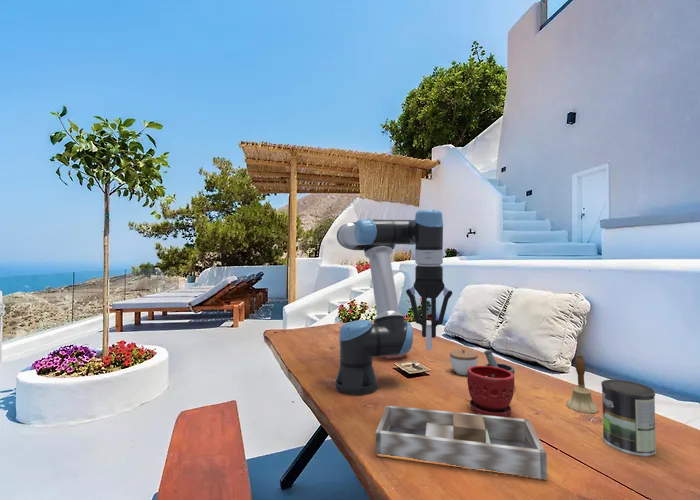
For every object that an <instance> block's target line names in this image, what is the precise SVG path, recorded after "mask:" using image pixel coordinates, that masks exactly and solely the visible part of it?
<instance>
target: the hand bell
mask: <svg viewBox="0 0 700 500" xmlns="http://www.w3.org/2000/svg"><path fill="white" fill-rule="evenodd" d="M574 362H575V365H574V367H575V371H576V373H577V386H575V387H573V388H572V393H571V398H570V399H569V400H568V401H566V403H565V404H566V405H565V406H566V407H568V408H569V409H570V410H572V411H575V412H578V413H584V414H597V413H599V412H600V411H599V407H598V406H597V405H596V404H595V403H594V401H593V398H592V393H591V391H590V389H588V388H586V385H585V384H586V383H585V373H586V362H585V360H584V357H583V354H577V356H576V359H575V361H574Z"/></svg>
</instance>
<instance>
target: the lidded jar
mask: <svg viewBox="0 0 700 500" xmlns="http://www.w3.org/2000/svg"><path fill="white" fill-rule="evenodd" d="M478 357H479V354H478V353H477V352H475V351H472V350H466V349H464V348H462V349H455V350H451V351H450V352H449V359H450V362H449V363H450V365H451V367H452V369H453V370H454V372H455V373H456V374H458V375H460V376H467V372H468V368H470V367H473V366H478V364H479V363H478V359H479V358H478Z"/></svg>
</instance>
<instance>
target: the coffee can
mask: <svg viewBox="0 0 700 500" xmlns="http://www.w3.org/2000/svg"><path fill="white" fill-rule="evenodd" d="M601 392H602V394H601V395H602V431H603V432H602V433H603V434H602V435H603V436H602V439H603V441H604V443H605V444H607V445H608V446H609V447H611V448H613V449H615V450H617V451H620V452H622V453H625V454H628V455H632V454H633V455H632V456H637V455H638V456H639V457H651V455H652V456H654V454H655V453H656V454H657V445H656V443H657V440H656V438H657V437H656V406H655V402H656V401H655V396H656V391H655V390H654V388H652V387H649V386H647V385H645V384H642V383H638V382H635V381H630V380H629V381H628V380H624V379H605V380H602V381H601ZM656 454H655V455H656ZM638 456H637V457H638Z"/></svg>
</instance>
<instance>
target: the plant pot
mask: <svg viewBox="0 0 700 500" xmlns="http://www.w3.org/2000/svg"><path fill="white" fill-rule="evenodd" d="M492 374H494V375H495V376H494V377H492V376H491V375H492ZM466 376H467V377H466V378H467V379H466V381H467V386H468V387H467V389H468V393H469V396H470V399H471V400H469V406H470V408H471V409H472V410H473V411H474V412H475V413H477V414H478V415H488V416H498V417H508V415H509V414H510V413H511V412H512V407H511V405H510V404H511V403H512V400H513V397H514V392H515V373H514V374H513V373H512V372H510V371H508V370H505V369H502V368H497V367H492V366H485V365H477V366H473V367H470V368H468V372H467V375H466ZM487 376H488V377H487ZM500 377H501V378H500Z"/></svg>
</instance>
